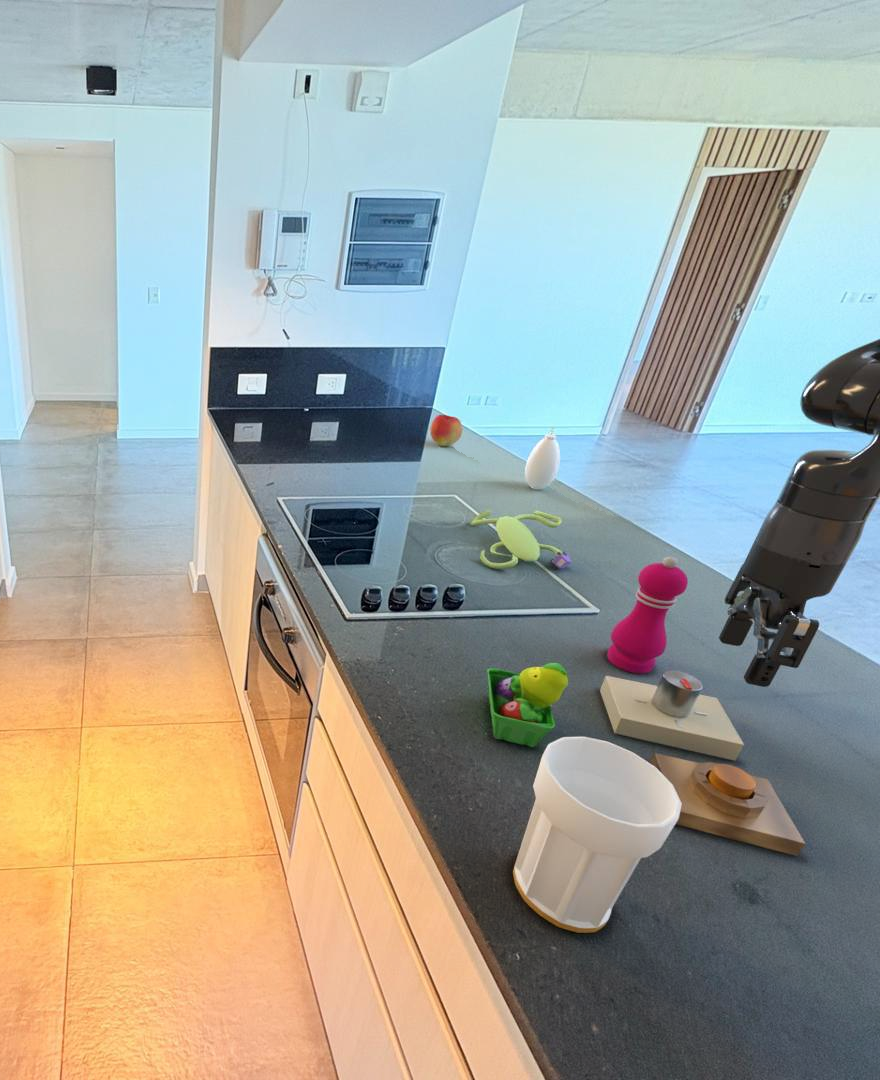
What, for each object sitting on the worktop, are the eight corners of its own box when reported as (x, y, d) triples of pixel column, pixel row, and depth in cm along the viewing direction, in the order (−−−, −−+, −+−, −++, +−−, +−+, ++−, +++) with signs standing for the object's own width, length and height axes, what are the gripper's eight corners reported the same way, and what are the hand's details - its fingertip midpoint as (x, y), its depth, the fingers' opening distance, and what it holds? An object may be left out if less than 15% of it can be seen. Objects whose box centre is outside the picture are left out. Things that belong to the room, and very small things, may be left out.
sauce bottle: (551, 495, 167) (570, 431, 159) (519, 490, 171) (536, 427, 163) (552, 486, 173) (571, 424, 165) (521, 481, 177) (537, 420, 168)
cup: (523, 935, 63) (571, 819, 56) (488, 839, 73) (525, 730, 66) (643, 952, 62) (711, 835, 54) (591, 852, 72) (642, 741, 64)
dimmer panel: (709, 713, 92) (717, 696, 90) (735, 761, 84) (745, 743, 82) (599, 690, 97) (606, 674, 95) (614, 733, 88) (621, 716, 87)
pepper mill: (594, 656, 104) (633, 552, 95) (618, 644, 107) (659, 542, 98) (640, 681, 99) (686, 573, 90) (664, 667, 101) (712, 561, 92)
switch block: (760, 791, 79) (773, 768, 77) (797, 856, 71) (813, 833, 69) (648, 764, 83) (659, 742, 82) (671, 823, 75) (683, 800, 73)
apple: (428, 448, 204) (434, 418, 200) (427, 439, 212) (432, 411, 208) (460, 450, 201) (466, 420, 197) (457, 442, 210) (463, 413, 205)
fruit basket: (479, 692, 97) (496, 633, 92) (543, 705, 94) (564, 645, 89) (484, 742, 87) (503, 679, 82) (556, 759, 84) (580, 695, 79)
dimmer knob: (646, 694, 91) (659, 665, 89) (682, 700, 90) (695, 671, 88) (657, 714, 88) (671, 684, 85) (694, 720, 86) (709, 691, 84)
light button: (742, 779, 76) (748, 768, 76) (755, 803, 73) (762, 793, 72) (703, 769, 78) (708, 759, 77) (714, 793, 75) (720, 783, 74)
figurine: (551, 529, 148) (557, 507, 146) (579, 582, 126) (587, 558, 123) (468, 519, 154) (472, 499, 151) (480, 569, 131) (486, 546, 129)
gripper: (735, 515, 75) (686, 625, 83) (786, 568, 64) (723, 690, 71) (815, 525, 73) (757, 638, 80) (883, 582, 61) (807, 707, 68)
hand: (741, 662), depth 75 cm, fingers open, 8 cm apart
